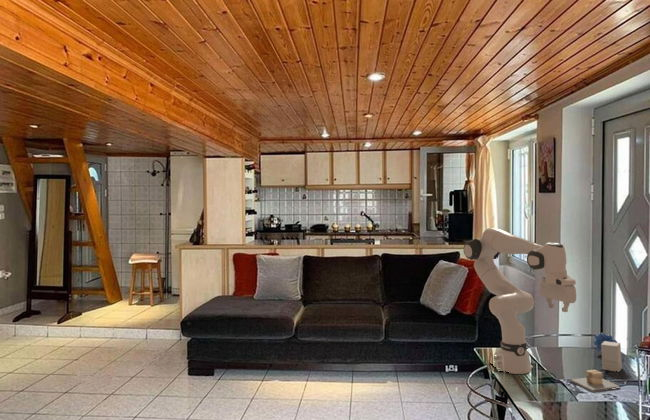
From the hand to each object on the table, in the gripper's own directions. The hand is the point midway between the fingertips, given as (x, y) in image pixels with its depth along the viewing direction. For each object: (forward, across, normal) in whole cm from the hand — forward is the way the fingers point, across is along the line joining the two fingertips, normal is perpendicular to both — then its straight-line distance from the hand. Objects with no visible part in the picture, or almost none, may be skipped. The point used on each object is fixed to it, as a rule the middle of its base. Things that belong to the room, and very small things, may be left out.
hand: (557, 309), depth 215 cm
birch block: (+35, 0, +17) cm, 39 cm away
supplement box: (+36, -16, +40) cm, 57 cm away
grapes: (+36, -35, +54) cm, 73 cm away
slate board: (+36, 0, +17) cm, 40 cm away
